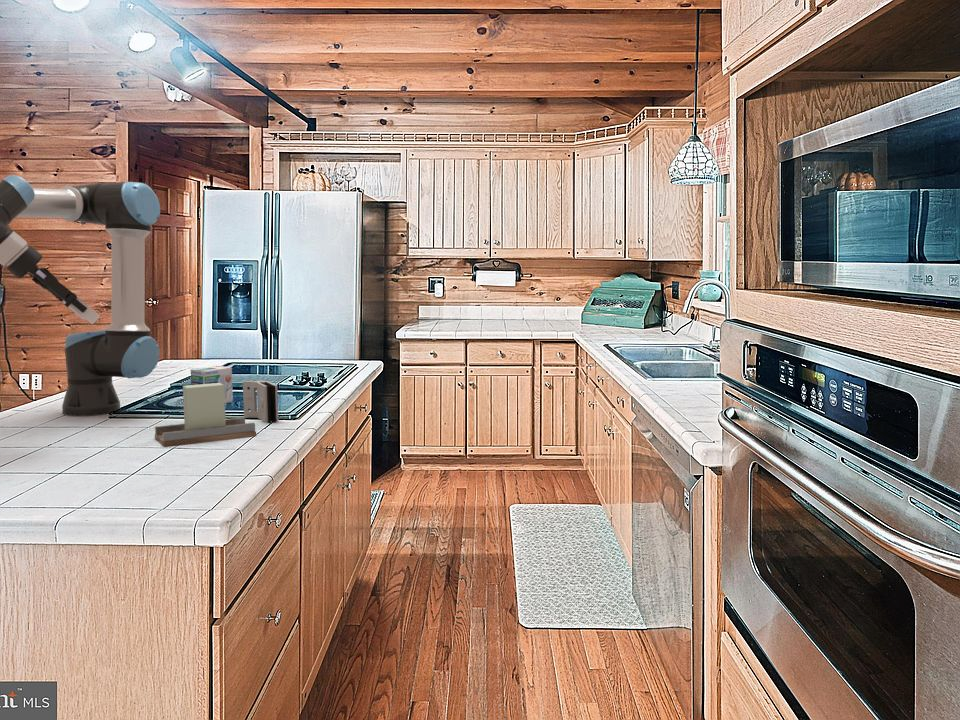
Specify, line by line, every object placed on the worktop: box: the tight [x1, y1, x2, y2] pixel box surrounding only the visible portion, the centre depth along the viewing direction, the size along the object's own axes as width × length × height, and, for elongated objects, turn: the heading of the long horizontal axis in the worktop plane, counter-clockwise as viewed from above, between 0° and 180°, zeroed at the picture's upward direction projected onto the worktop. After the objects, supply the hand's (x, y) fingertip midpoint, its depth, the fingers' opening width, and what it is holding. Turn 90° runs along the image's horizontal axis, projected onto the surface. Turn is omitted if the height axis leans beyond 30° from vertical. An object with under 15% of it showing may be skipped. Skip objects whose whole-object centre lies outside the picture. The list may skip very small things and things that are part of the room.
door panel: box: [182, 383, 226, 430], centre depth 208 cm, size 4×9×12 cm, turn 123°
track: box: [154, 416, 257, 448], centre depth 209 cm, size 11×22×3 cm, turn 123°
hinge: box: [242, 380, 279, 424], centre depth 232 cm, size 14×5×10 cm, turn 43°
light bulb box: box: [190, 365, 234, 404], centre depth 254 cm, size 11×7×11 cm, turn 147°
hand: (91, 318), depth 204 cm, fingers open, 13 cm apart
